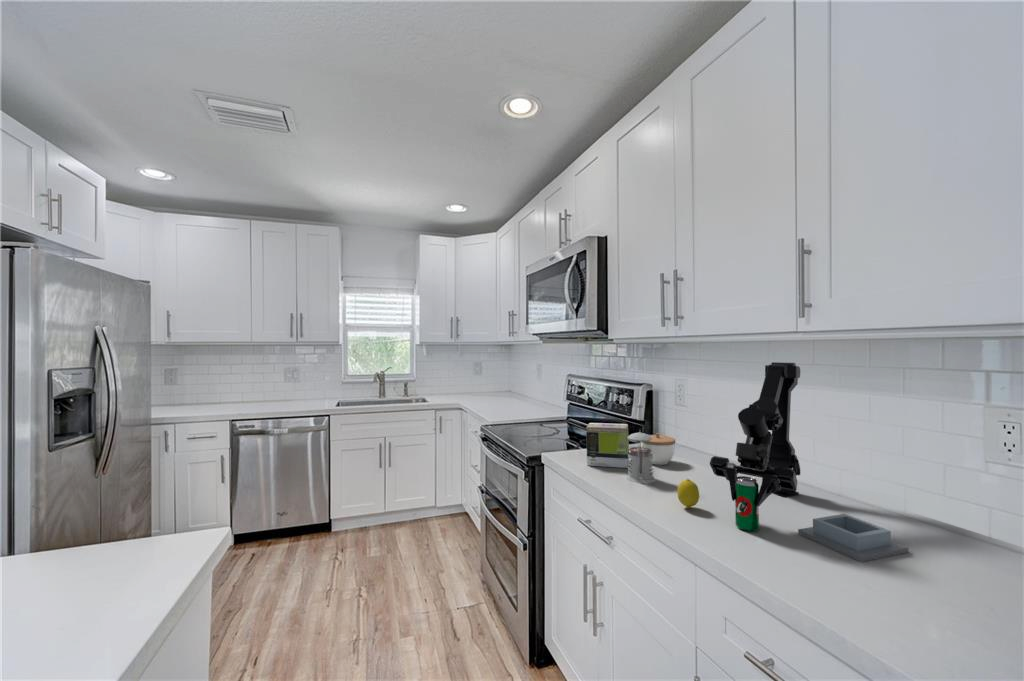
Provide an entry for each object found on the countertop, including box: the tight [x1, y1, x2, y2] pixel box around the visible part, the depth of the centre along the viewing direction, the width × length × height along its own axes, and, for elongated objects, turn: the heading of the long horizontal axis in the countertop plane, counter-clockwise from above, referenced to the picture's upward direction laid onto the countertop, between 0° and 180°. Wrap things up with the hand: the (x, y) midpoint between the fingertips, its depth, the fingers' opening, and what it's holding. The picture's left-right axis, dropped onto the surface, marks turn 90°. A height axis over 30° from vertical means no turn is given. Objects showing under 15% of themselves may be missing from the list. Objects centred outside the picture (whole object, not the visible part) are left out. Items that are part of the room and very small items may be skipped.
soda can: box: [734, 475, 760, 533], centre depth 105 cm, size 5×5×12 cm
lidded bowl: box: [641, 432, 676, 466], centre depth 164 cm, size 13×13×11 cm
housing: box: [797, 513, 910, 563], centre depth 97 cm, size 14×14×4 cm
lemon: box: [676, 478, 700, 509], centre depth 118 cm, size 6×6×8 cm
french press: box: [624, 403, 657, 484], centre depth 144 cm, size 10×12×25 cm
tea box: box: [585, 422, 630, 469], centre depth 162 cm, size 15×10×15 cm
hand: (745, 502), depth 104 cm, fingers closed on soda can, 5 cm apart
